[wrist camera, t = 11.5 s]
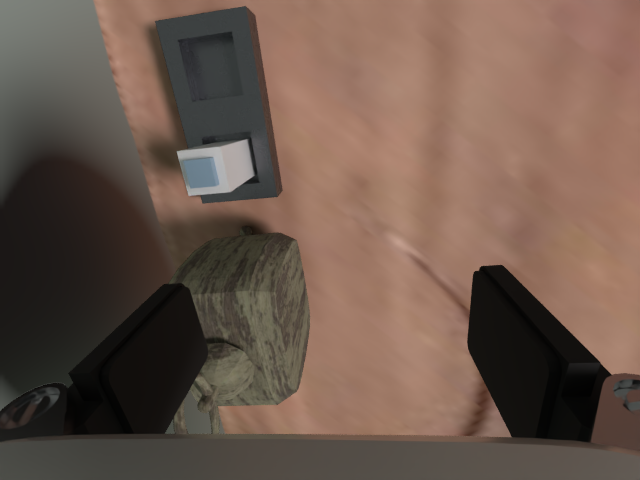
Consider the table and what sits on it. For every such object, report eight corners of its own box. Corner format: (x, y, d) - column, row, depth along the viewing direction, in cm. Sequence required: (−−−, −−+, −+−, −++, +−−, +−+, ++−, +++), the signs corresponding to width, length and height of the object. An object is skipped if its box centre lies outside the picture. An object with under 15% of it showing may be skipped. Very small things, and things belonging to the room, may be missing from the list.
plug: (216, 141, 35) (171, 152, 26) (250, 138, 35) (216, 147, 26) (224, 176, 37) (184, 198, 28) (257, 173, 36) (226, 194, 27)
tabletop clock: (231, 217, 40) (72, 362, 17) (300, 210, 39) (230, 354, 16) (255, 311, 45) (159, 518, 22) (316, 307, 44) (281, 520, 21)
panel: (171, 28, 32) (155, 21, 29) (255, 15, 31) (245, 6, 28) (212, 196, 39) (202, 203, 36) (282, 190, 38) (277, 196, 35)
